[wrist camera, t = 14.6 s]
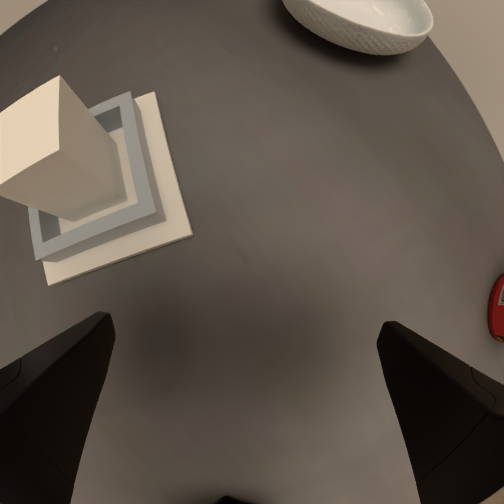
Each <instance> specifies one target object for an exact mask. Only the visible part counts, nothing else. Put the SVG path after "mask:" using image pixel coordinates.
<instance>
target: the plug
mask: <svg viewBox="0 0 504 504" xmlns="http://www.w3.org/2000/svg"><path fill="white" fill-rule="evenodd" d="M0 196H2V197H5V198H8V199H10V200H13V201H16V202H18V203H21V204H24V205H26V206H29V207H32V208H35V209H37V210H40V211H43V212H46V213H49V214H51V215H54V216H57V217H60V218H63V219H66V220H68V221H71V222H76V221H79V220H81V219H83V218H86V217H88V216H91V215H93V214H95V213H98V212H100V211H103V210H105V209H108V208H110V207H113V206H115V205H118V204H121V203H123V202H126V201H128V198H127V194H126V189H125V184H124V179H123V174H122V168H121V163H120V157H119V151H118V145H117V144H116V142H115V141H114V140H113V139H112V138H111V137H110V135H109V134H108V133H107V132H106V131H105V129H104V128H103V127H102V126H101V125H100V124H99V122H98V121H97V120H96V119H95V118H94V116H93V115H92V114H91V113H90V112H89V110H88V109H87V108H86V107H85V105H84V104H83V103H82V102H81V101H80V99H79V98H78V97H77V96H76V94H75V93H74V92H73V91H72V90H71V88H70V87H69V86H68V85H67V83H66V82H65V81H64V80H63V78H62V77H61V76H60V75H59V76H57V77H56V78H54V79H52V80H50V81H48V82H47V83H45V84H43V85H42V86H40V87H38V88H37V89H35V90H33V91H32V92H30V93H29V94H27V95H26V96H24V97H23V98H21V99H20V100H18V101H17V102H15V103H14V104H12V105H11V106H9V107H8V108H7V109H5V110H4V111H2V112H1V113H0Z"/></svg>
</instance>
